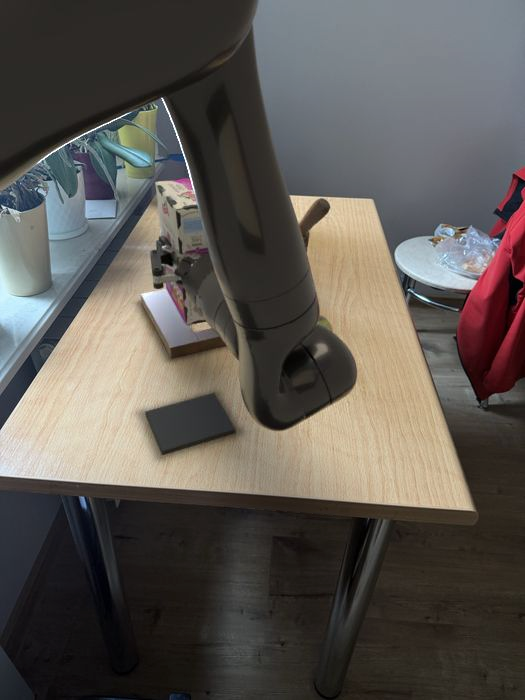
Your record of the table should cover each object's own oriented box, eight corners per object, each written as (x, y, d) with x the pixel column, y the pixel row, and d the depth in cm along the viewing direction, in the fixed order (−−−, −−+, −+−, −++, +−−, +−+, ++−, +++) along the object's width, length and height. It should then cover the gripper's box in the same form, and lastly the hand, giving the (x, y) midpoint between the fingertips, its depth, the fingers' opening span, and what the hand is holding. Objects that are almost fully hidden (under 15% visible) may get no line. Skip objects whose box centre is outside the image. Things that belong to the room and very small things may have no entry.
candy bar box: (221, 319, 73) (215, 203, 63) (186, 327, 71) (174, 209, 61) (197, 283, 81) (189, 175, 71) (165, 289, 79) (152, 180, 70)
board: (171, 358, 83) (170, 347, 82) (141, 303, 96) (140, 293, 95) (263, 336, 89) (263, 326, 88) (223, 287, 102) (223, 278, 101)
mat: (162, 454, 67) (161, 451, 66) (145, 414, 72) (145, 411, 72) (235, 432, 70) (235, 429, 70) (214, 395, 76) (214, 392, 76)
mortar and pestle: (320, 288, 103) (331, 186, 91) (319, 311, 96) (331, 204, 84) (261, 283, 103) (264, 181, 92) (255, 306, 96) (258, 199, 85)
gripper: (286, 255, 61) (229, 205, 73) (165, 277, 55) (126, 220, 68) (283, 311, 65) (230, 255, 77) (170, 337, 60) (132, 272, 72)
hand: (181, 239), depth 72 cm, fingers closed on candy bar box, 5 cm apart
